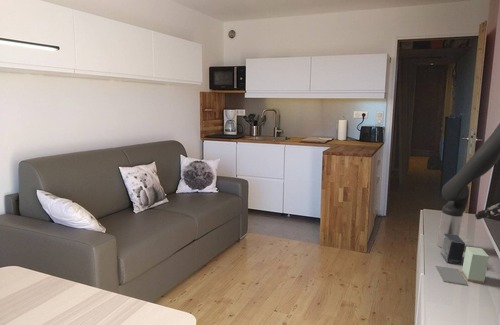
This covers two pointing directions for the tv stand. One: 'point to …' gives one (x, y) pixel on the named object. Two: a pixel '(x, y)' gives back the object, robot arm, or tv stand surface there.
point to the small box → (452, 249)
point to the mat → (451, 275)
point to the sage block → (475, 265)
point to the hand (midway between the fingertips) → (477, 215)
